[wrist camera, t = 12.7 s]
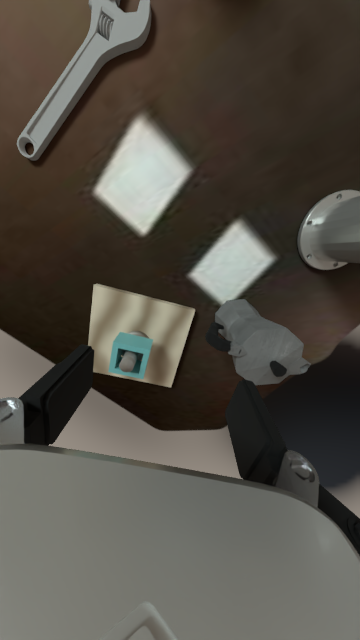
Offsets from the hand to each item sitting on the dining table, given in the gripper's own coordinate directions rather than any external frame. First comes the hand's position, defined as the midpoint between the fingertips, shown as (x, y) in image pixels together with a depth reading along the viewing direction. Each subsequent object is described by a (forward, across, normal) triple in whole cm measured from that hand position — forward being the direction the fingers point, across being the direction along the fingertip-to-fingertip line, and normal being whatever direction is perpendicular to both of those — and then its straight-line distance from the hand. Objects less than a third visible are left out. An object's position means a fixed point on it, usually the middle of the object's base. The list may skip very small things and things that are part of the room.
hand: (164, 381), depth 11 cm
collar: (+21, +6, +12) cm, 25 cm away
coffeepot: (+27, -12, +3) cm, 29 cm away
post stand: (+26, +6, +13) cm, 29 cm away
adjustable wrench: (+27, +21, -26) cm, 42 cm away
